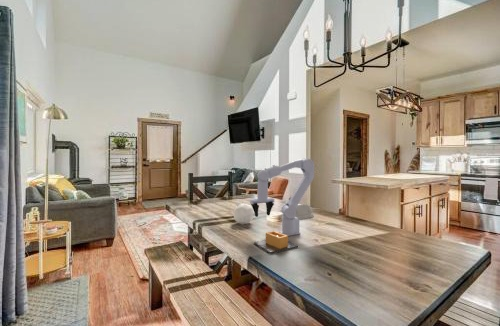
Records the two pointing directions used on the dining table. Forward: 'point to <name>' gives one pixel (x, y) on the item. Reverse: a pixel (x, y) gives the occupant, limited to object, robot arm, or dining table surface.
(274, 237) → the orange hollow rectangular block
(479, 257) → the dining table surface
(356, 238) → the dining table surface
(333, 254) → the dining table surface
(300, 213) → the grey stone
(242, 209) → the geodesic sphere
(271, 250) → the keeper plate
